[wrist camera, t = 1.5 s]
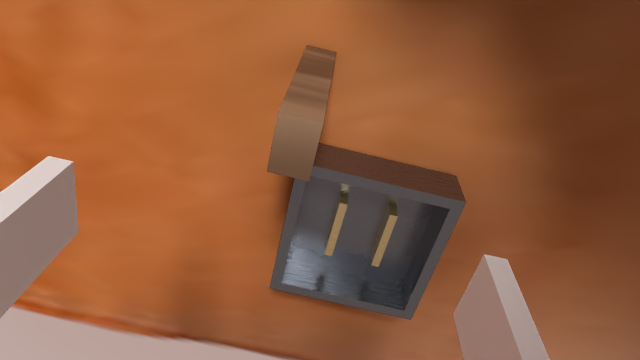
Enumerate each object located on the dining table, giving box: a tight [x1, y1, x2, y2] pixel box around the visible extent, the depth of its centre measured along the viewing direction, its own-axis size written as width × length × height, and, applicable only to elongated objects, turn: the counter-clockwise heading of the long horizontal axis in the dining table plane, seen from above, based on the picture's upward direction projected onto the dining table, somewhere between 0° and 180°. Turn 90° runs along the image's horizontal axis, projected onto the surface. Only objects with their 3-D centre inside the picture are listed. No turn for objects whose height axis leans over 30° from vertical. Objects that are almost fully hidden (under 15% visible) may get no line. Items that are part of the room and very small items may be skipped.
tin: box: [270, 143, 466, 320], centre depth 35 cm, size 12×12×4 cm
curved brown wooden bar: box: [267, 45, 336, 181], centre depth 25 cm, size 3×2×12 cm, turn 167°
